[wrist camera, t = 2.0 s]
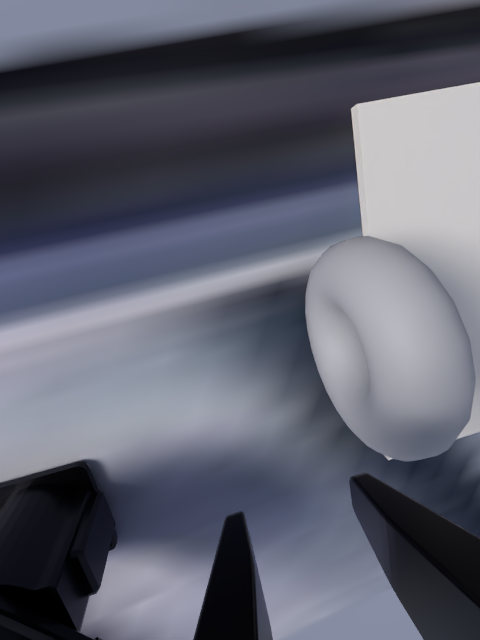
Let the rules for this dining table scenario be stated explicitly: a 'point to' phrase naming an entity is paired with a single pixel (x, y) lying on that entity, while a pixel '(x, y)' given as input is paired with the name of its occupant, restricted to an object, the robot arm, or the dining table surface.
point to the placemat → (427, 192)
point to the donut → (390, 348)
